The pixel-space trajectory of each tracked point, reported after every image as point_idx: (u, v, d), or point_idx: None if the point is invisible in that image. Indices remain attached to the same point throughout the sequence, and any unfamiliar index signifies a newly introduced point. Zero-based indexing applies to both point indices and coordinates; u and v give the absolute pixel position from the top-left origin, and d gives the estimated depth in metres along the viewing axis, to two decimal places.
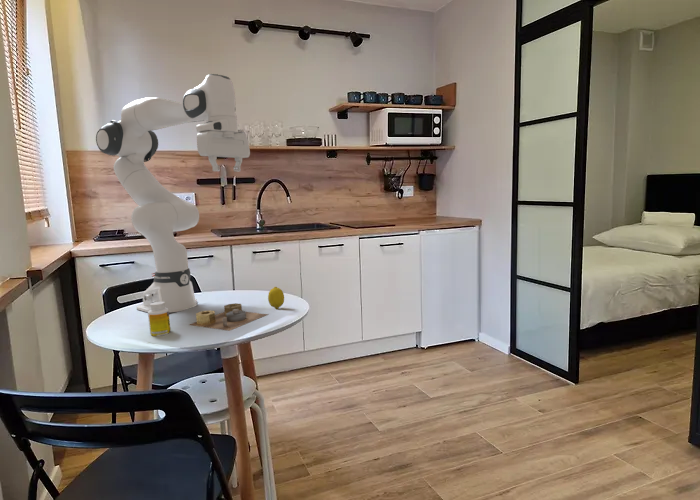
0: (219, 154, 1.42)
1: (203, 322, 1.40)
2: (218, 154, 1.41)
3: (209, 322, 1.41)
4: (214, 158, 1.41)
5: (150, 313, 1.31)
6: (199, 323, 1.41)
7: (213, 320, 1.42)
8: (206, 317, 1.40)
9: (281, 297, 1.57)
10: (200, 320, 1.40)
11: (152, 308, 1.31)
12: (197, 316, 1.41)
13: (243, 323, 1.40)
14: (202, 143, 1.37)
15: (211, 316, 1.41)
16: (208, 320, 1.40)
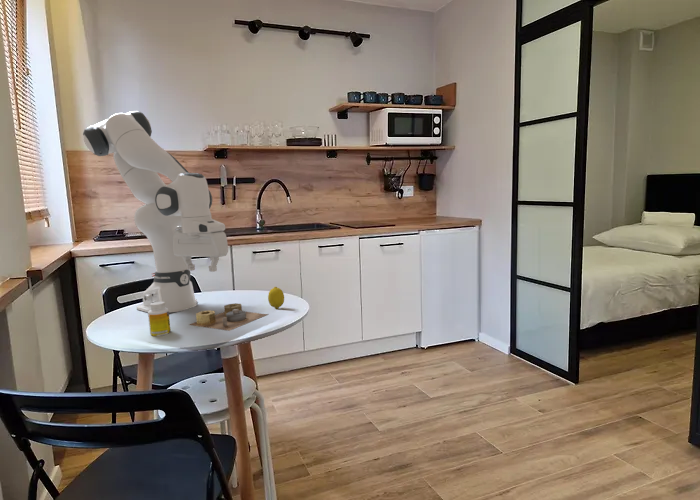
0: None
1: (203, 322, 1.40)
2: None
3: (209, 322, 1.41)
4: None
5: (150, 313, 1.31)
6: (199, 323, 1.41)
7: (213, 320, 1.42)
8: (206, 317, 1.40)
9: (281, 297, 1.57)
10: (200, 320, 1.40)
11: (152, 308, 1.31)
12: (197, 316, 1.41)
13: (243, 323, 1.40)
14: (224, 243, 1.35)
15: (211, 316, 1.41)
16: (208, 320, 1.40)
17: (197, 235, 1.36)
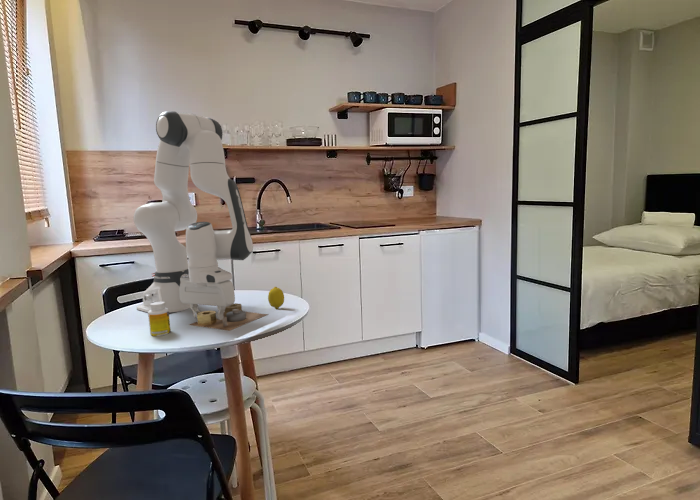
0: None
1: (204, 322, 1.40)
2: None
3: (210, 322, 1.40)
4: None
5: (150, 313, 1.31)
6: (200, 323, 1.40)
7: (214, 320, 1.42)
8: (207, 317, 1.40)
9: (281, 297, 1.57)
10: (201, 321, 1.40)
11: (152, 308, 1.31)
12: (198, 316, 1.40)
13: (243, 323, 1.40)
14: (231, 293, 1.38)
15: (212, 316, 1.41)
16: (209, 320, 1.40)
17: (204, 284, 1.39)
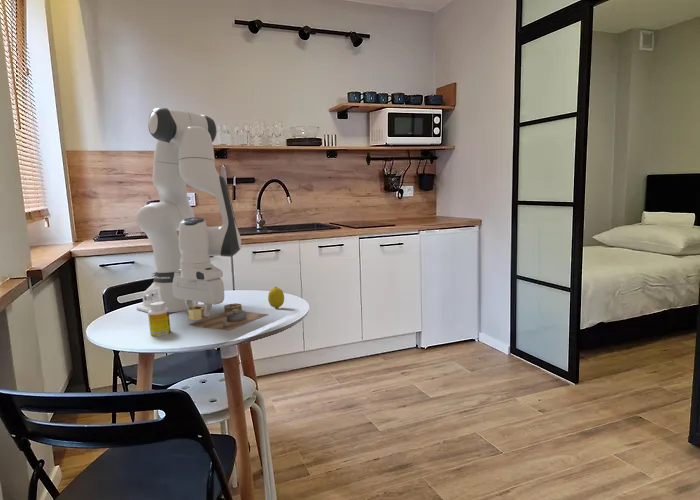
0: None
1: (195, 317, 1.39)
2: None
3: (201, 317, 1.40)
4: None
5: (150, 313, 1.31)
6: (191, 318, 1.40)
7: None
8: (198, 312, 1.39)
9: (281, 297, 1.57)
10: (192, 315, 1.39)
11: (152, 308, 1.31)
12: (189, 311, 1.40)
13: (243, 323, 1.40)
14: (220, 291, 1.36)
15: None
16: (200, 315, 1.39)
17: (195, 281, 1.37)
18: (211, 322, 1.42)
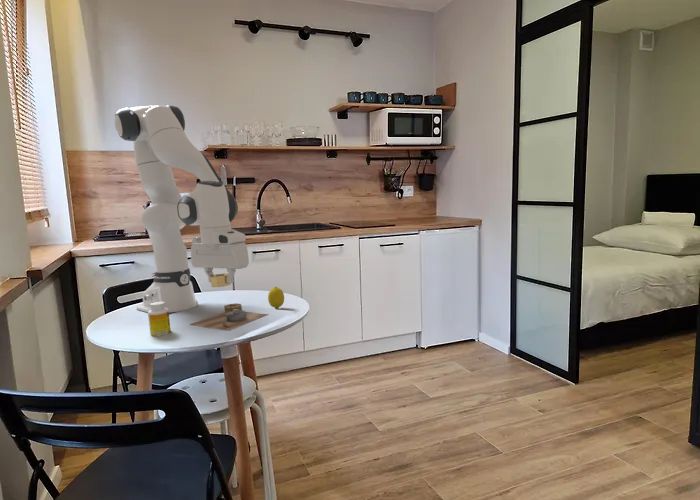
0: None
1: (218, 284, 1.33)
2: None
3: (224, 284, 1.33)
4: None
5: (150, 313, 1.31)
6: (214, 285, 1.33)
7: None
8: (221, 279, 1.33)
9: (281, 297, 1.57)
10: (215, 282, 1.33)
11: (152, 308, 1.31)
12: (212, 278, 1.33)
13: (243, 323, 1.40)
14: (245, 255, 1.30)
15: None
16: (223, 282, 1.33)
17: (217, 246, 1.31)
18: (211, 322, 1.42)
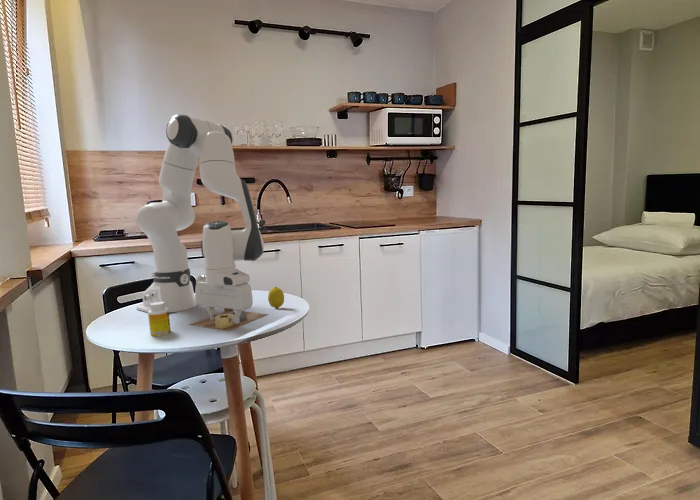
0: None
1: (222, 326, 1.35)
2: None
3: (228, 326, 1.35)
4: None
5: (150, 313, 1.31)
6: (218, 327, 1.35)
7: (232, 324, 1.37)
8: (225, 321, 1.35)
9: (281, 297, 1.57)
10: (219, 324, 1.35)
11: (152, 308, 1.31)
12: (216, 320, 1.35)
13: (243, 323, 1.40)
14: (249, 296, 1.32)
15: (230, 320, 1.36)
16: (227, 324, 1.35)
17: (221, 287, 1.33)
18: (211, 322, 1.42)
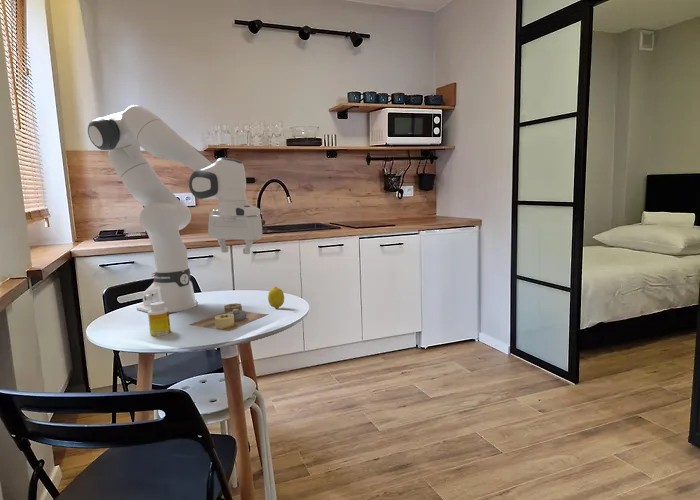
0: None
1: (222, 326, 1.35)
2: None
3: (228, 326, 1.35)
4: None
5: (150, 313, 1.31)
6: (218, 327, 1.35)
7: (232, 324, 1.37)
8: (225, 321, 1.35)
9: (281, 297, 1.57)
10: (219, 324, 1.35)
11: (152, 308, 1.31)
12: (216, 320, 1.35)
13: (243, 323, 1.40)
14: (259, 227, 1.41)
15: (230, 320, 1.36)
16: (227, 324, 1.35)
17: (233, 218, 1.42)
18: (211, 322, 1.42)
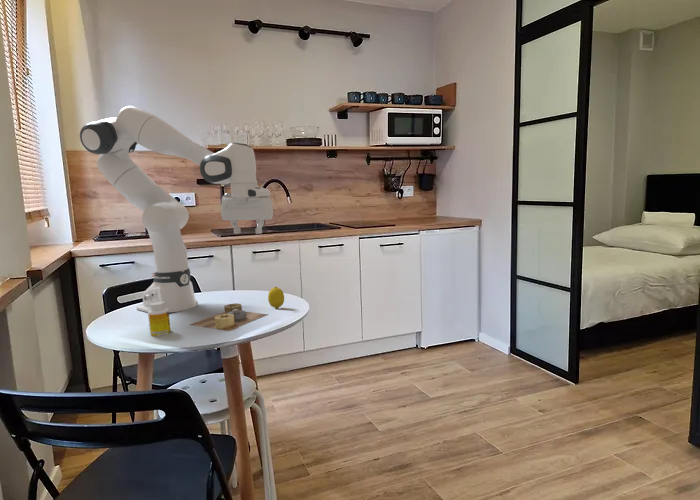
0: None
1: (222, 326, 1.35)
2: None
3: (228, 326, 1.35)
4: None
5: (150, 313, 1.31)
6: (218, 327, 1.35)
7: (232, 324, 1.37)
8: (225, 321, 1.35)
9: (281, 297, 1.57)
10: (219, 324, 1.35)
11: (152, 308, 1.31)
12: (216, 320, 1.35)
13: (243, 323, 1.40)
14: (270, 208, 1.49)
15: (230, 320, 1.36)
16: (227, 324, 1.35)
17: (245, 200, 1.50)
18: (211, 322, 1.42)
